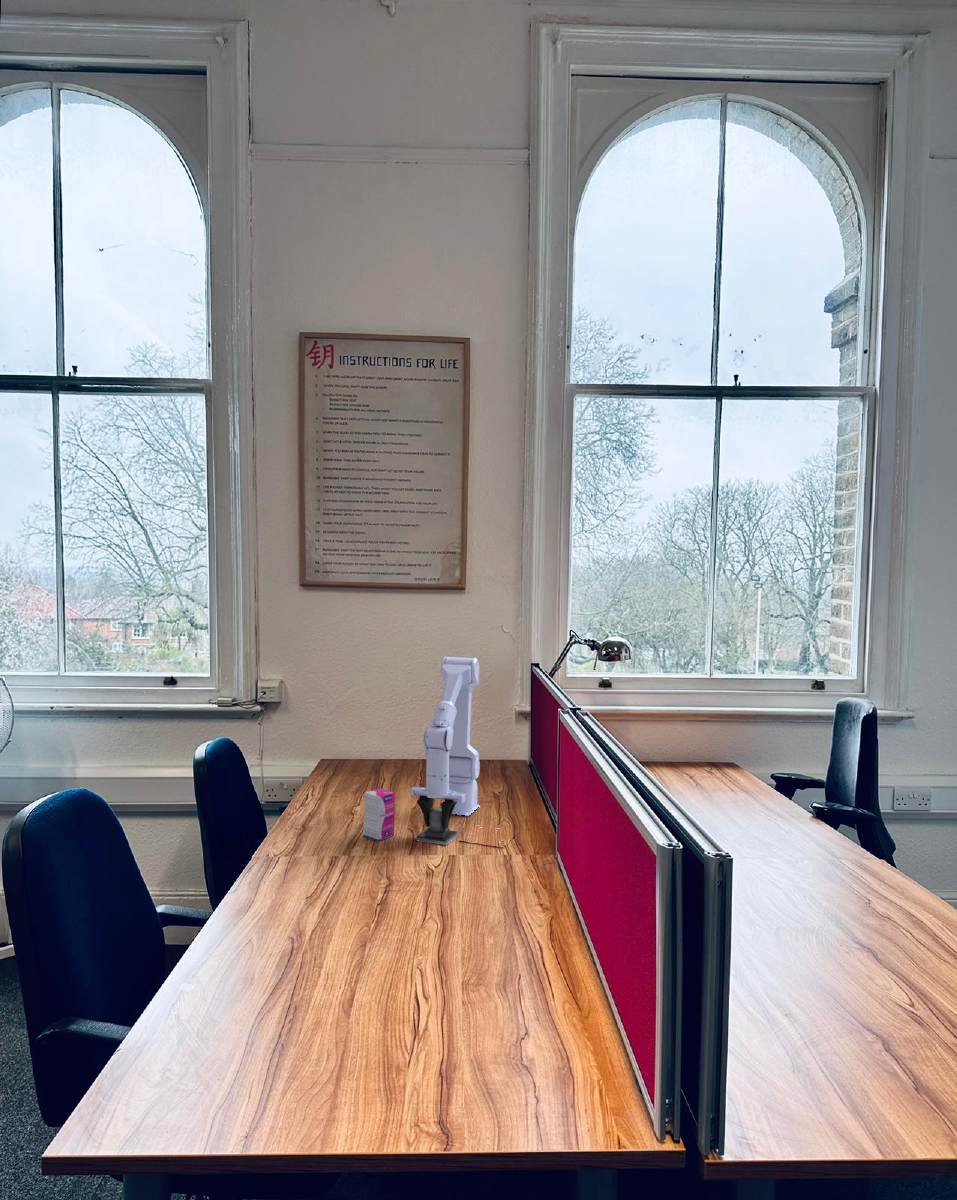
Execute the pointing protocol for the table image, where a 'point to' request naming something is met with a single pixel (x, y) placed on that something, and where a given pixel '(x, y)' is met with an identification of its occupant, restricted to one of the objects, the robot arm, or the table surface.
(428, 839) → the ink pad
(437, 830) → the stamp
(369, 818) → the supplement box
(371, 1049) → the table surface
